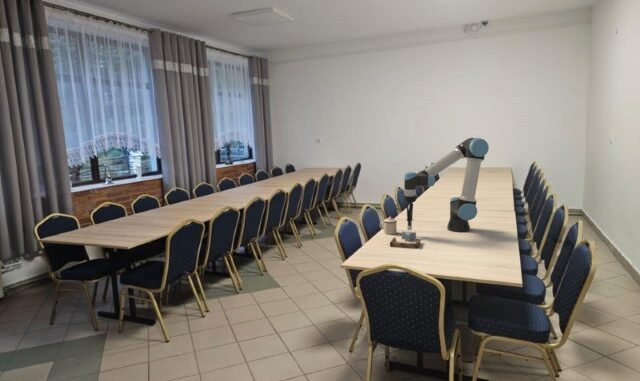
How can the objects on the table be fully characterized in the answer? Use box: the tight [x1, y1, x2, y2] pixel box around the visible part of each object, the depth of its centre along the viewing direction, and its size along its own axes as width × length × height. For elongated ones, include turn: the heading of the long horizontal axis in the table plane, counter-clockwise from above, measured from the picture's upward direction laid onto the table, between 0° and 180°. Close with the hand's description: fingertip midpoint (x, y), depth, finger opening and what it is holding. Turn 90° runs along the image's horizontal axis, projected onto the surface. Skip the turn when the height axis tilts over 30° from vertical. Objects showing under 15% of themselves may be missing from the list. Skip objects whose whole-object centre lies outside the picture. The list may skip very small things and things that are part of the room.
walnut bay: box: [389, 237, 421, 249], centre depth 252 cm, size 17×12×2 cm
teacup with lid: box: [379, 216, 398, 235], centre depth 281 cm, size 12×9×12 cm
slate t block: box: [401, 230, 417, 242], centre depth 263 cm, size 9×8×4 cm
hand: (409, 229), depth 271 cm, fingers closed
